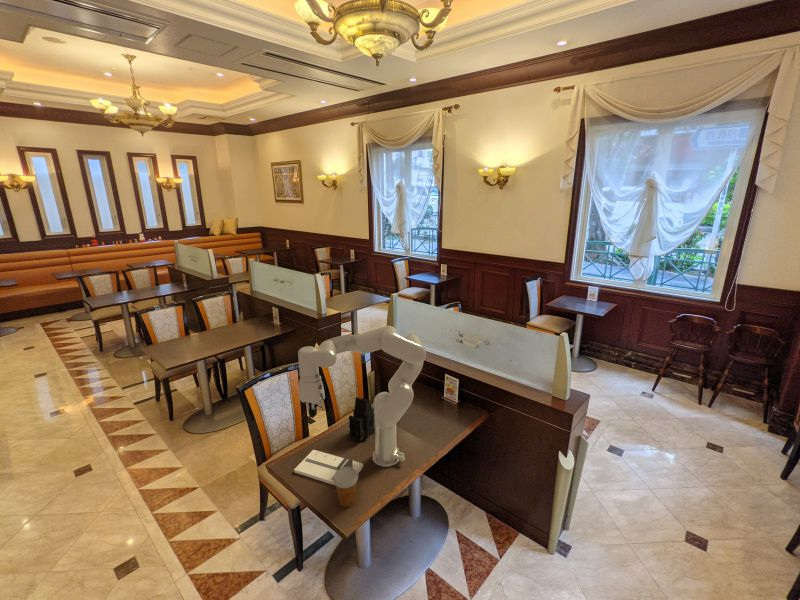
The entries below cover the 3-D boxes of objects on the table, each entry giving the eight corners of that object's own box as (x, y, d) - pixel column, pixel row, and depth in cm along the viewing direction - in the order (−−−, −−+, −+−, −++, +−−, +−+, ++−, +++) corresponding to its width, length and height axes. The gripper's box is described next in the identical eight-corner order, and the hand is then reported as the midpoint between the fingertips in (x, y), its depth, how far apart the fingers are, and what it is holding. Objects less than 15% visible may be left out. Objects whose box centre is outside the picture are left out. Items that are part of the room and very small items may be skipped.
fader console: (363, 466, 162) (363, 463, 161) (347, 489, 149) (346, 485, 149) (313, 452, 171) (313, 449, 171) (294, 472, 159) (294, 469, 158)
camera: (345, 440, 179) (342, 403, 174) (360, 425, 191) (359, 391, 185) (362, 446, 175) (360, 409, 169) (377, 431, 186) (376, 395, 181)
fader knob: (352, 467, 159) (352, 459, 158) (345, 476, 153) (345, 469, 152) (344, 464, 160) (344, 457, 159) (337, 474, 155) (336, 466, 154)
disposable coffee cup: (347, 487, 150) (346, 462, 147) (364, 499, 144) (363, 473, 141) (329, 502, 143) (327, 476, 140) (346, 514, 137) (344, 488, 134)
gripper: (330, 375, 151) (333, 414, 156) (300, 369, 157) (303, 407, 162) (319, 383, 145) (323, 424, 150) (288, 377, 150) (293, 417, 155)
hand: (313, 415), depth 156 cm, fingers closed
